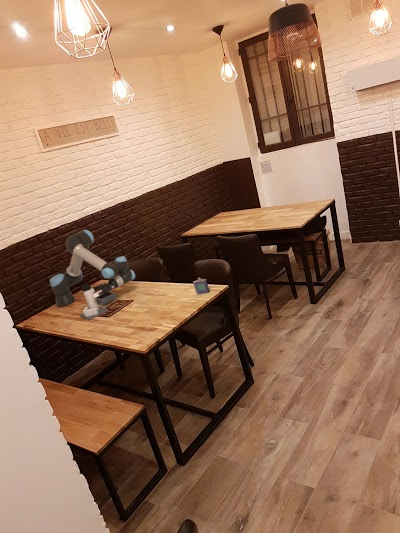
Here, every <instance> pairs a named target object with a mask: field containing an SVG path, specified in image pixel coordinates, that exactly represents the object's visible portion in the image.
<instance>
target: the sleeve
mask: <svg viewBox="0 0 400 533" xmlns="http://www.w3.org/2000/svg"><path fill="white" fill-rule="evenodd" d="M95 299H96V302H97V304H98V306H99V307H104V306H106V305H108V304H110V303H112V302H114V301H116V300H118V297H117V293H116V292H113V291H109V292H108V293H106V294H102V295H100V296H98V297H96V298H95Z"/></svg>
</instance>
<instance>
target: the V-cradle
mask: <svg viewBox="0 0 400 533" xmlns="http://www.w3.org/2000/svg"><path fill="white" fill-rule="evenodd" d="M98 307H99V311H97V309H96V308H93V309H89V307H88V305H87V306H85V308H84V309H83V310H82V314H79V318H82V319H84V320H86V321H87V320H88V321H89V322H90V321H92V320H94V319H95V318H97V317H99V316H101V315H103V314H105V313H107V312H109V309H108V308H106V307H104V306H100V305H98Z"/></svg>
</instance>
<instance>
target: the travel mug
mask: <svg viewBox="0 0 400 533" xmlns="http://www.w3.org/2000/svg"><path fill="white" fill-rule="evenodd" d="M81 291H82V294H83V297H84V299H85V301H86V304H87V306H88V307H89V309H93V308H96V309H97V311H99V307H100V306H99V305H98V304H97V302H96V299H95V298H94V296H93V294H94V292H93V291H92V287H91V284H90V283H86V284H84V285H82V286H81ZM98 306H99V307H98Z"/></svg>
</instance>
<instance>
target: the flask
mask: <svg viewBox="0 0 400 533" xmlns="http://www.w3.org/2000/svg"><path fill="white" fill-rule="evenodd" d="M192 282H193V283H192V284H193V287H194V289H195V293H196V295H204V294H209V293H210V287H209V285H208V282H207V279H206V278H205V279H204V278H201V277H198V278H197V280H195V281H192Z"/></svg>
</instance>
